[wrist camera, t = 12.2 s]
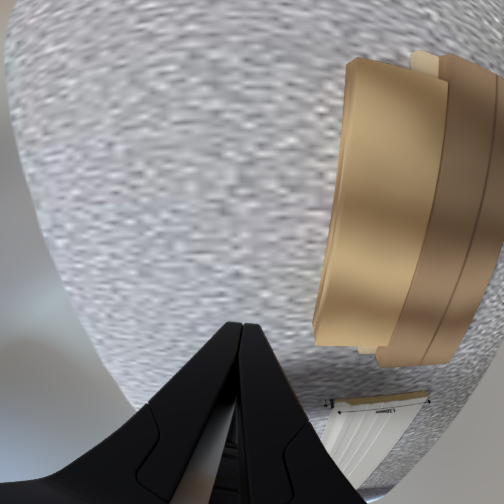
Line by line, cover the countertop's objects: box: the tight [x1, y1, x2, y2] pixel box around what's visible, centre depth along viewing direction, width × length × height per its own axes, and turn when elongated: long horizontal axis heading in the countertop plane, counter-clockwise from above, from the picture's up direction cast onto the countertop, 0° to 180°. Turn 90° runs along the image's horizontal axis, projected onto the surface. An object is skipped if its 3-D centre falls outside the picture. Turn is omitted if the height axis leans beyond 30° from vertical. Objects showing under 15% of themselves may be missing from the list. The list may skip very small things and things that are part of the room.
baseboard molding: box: [321, 390, 431, 490], centre depth 32 cm, size 31×3×12 cm
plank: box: [312, 57, 448, 346], centre depth 17 cm, size 18×6×3 cm, turn 177°
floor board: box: [357, 50, 504, 368], centre depth 17 cm, size 22×8×3 cm, turn 177°
